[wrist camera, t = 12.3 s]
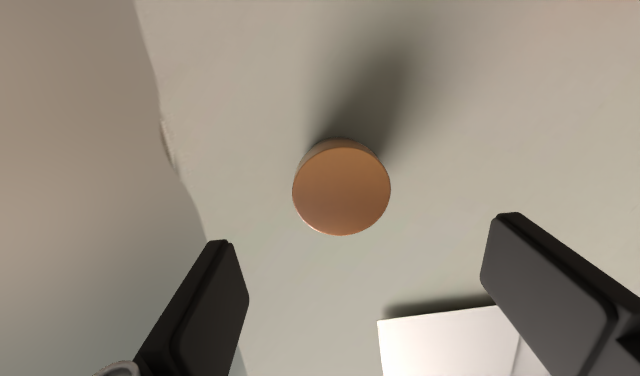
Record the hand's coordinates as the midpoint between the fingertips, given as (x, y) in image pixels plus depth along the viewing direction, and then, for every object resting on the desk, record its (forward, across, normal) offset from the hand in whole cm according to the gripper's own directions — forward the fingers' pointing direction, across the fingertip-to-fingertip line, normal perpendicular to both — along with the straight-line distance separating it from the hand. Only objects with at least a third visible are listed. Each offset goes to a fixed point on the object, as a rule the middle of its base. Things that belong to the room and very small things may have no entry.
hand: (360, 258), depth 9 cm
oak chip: (+8, 0, +1) cm, 8 cm away
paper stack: (+10, -15, +28) cm, 33 cm away
